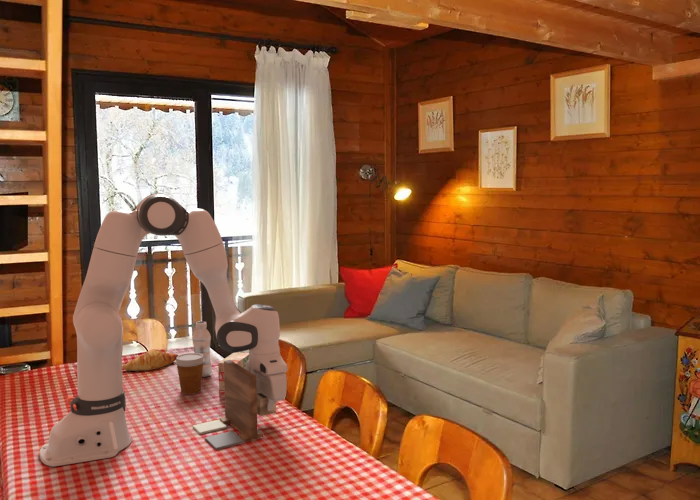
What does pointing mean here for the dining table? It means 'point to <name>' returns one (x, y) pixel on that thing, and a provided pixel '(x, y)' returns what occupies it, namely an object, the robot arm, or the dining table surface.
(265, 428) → the dining table surface
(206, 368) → the plastic bottle
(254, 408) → the walnut screen
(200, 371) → the disposable coffee cup
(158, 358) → the croissant
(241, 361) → the stack of blocks
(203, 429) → the cream rectangular pad
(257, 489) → the dining table surface
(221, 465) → the dining table surface
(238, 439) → the slate pad
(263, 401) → the marked cube
